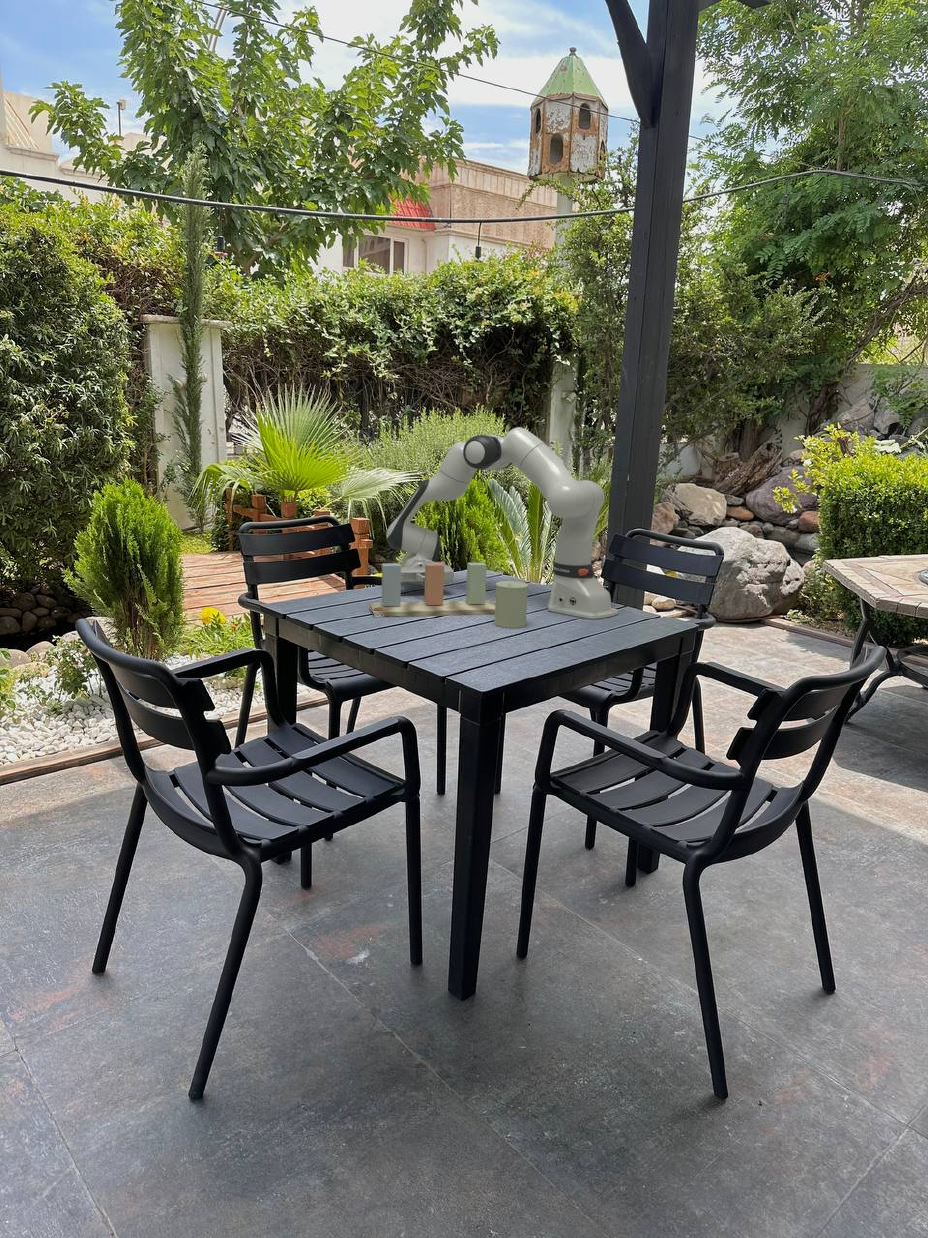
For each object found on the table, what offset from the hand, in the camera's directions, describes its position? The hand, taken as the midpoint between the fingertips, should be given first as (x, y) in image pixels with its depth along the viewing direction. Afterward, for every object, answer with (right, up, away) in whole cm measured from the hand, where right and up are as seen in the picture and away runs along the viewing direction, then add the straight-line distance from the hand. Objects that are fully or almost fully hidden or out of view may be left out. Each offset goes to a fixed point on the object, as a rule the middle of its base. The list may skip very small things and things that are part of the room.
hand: (426, 579), depth 250 cm
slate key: (-10, -8, -14) cm, 19 cm away
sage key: (+15, -7, -8) cm, 19 cm away
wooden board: (+3, -10, -13) cm, 16 cm away
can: (+25, -14, -25) cm, 38 cm away
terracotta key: (+3, -8, -11) cm, 14 cm away
